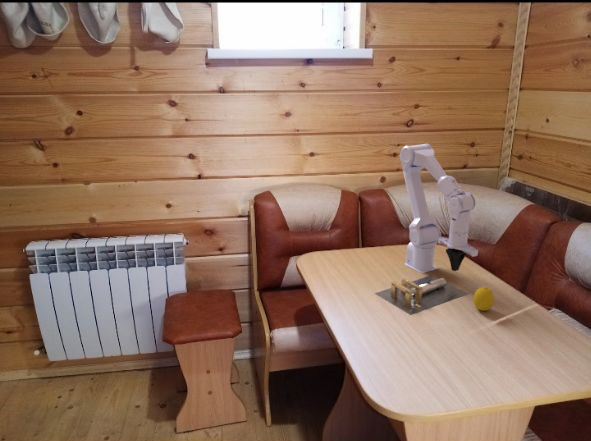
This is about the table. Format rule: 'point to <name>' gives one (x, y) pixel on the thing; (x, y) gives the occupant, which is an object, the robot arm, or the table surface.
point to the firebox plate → (419, 295)
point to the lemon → (483, 298)
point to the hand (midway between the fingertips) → (455, 269)
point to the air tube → (431, 286)
